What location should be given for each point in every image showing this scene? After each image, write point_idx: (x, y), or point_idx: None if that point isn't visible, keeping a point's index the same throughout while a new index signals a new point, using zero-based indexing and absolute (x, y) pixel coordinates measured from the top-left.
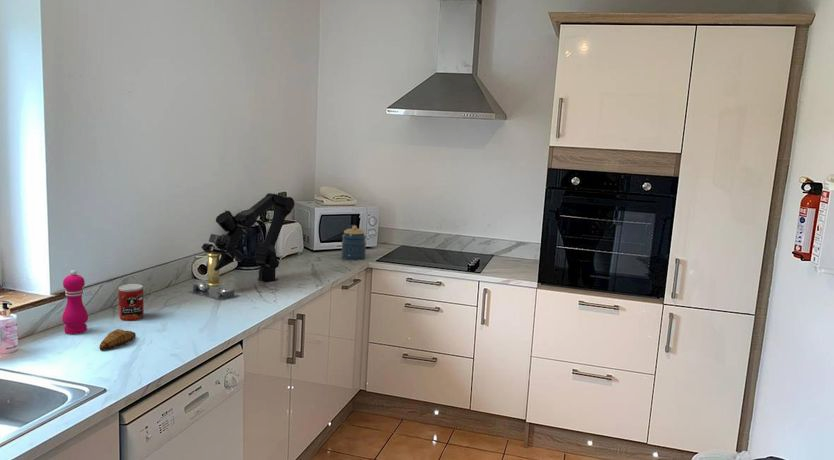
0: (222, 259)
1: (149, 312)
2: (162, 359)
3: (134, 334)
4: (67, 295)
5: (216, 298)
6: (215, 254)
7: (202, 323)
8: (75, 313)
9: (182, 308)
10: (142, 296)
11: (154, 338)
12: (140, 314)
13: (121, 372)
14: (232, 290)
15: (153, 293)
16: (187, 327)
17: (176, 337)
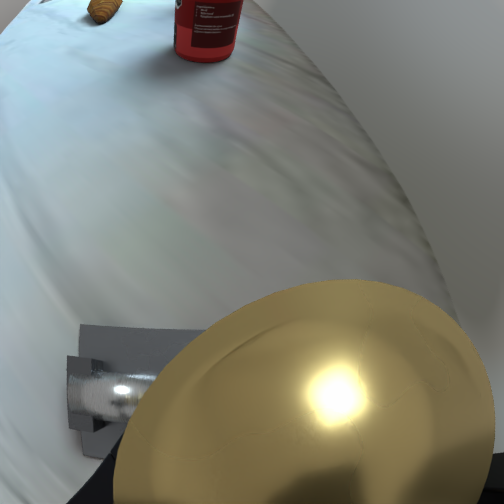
0: (73, 499)
1: (203, 79)
2: (18, 32)
3: (94, 16)
4: None
5: (118, 327)
6: (128, 432)
7: (11, 109)
8: None
9: (144, 141)
10: (178, 4)
11: (65, 37)
12: (174, 41)
13: (46, 9)
14: (70, 416)
15: (408, 216)
16: (33, 81)
17: (31, 55)
